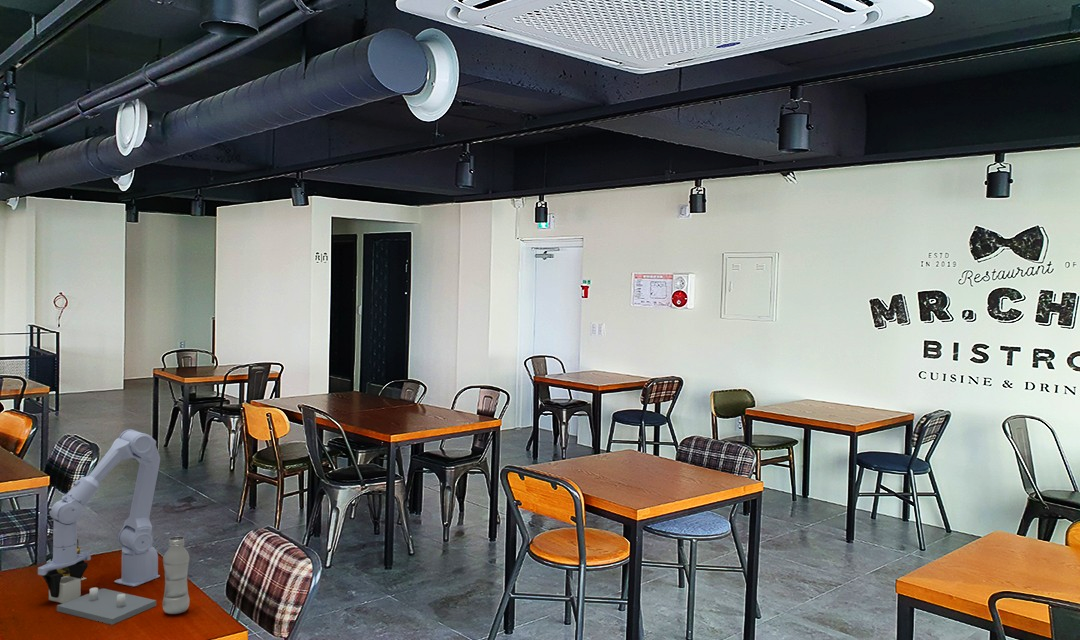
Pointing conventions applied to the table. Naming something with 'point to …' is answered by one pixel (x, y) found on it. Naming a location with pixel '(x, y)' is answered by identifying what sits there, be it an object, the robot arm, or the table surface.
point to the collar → (68, 589)
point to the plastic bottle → (176, 577)
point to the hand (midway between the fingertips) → (64, 593)
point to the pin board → (106, 606)
